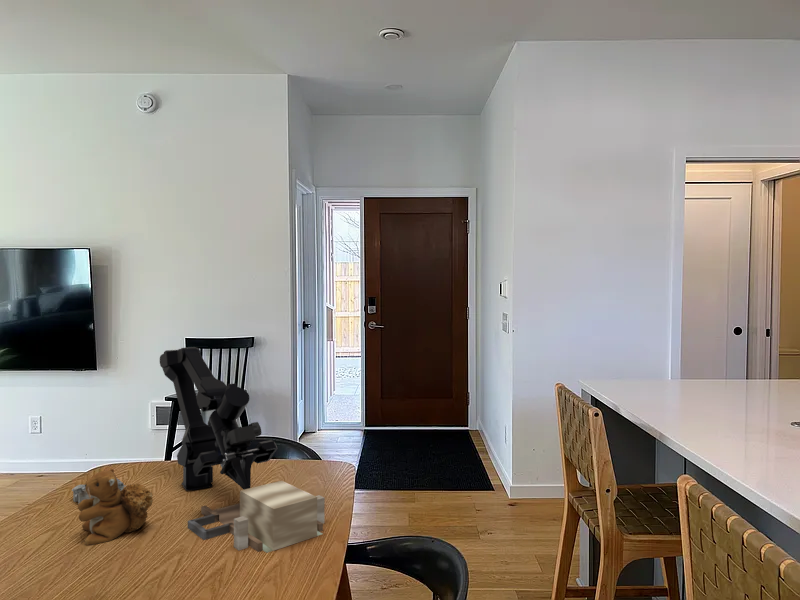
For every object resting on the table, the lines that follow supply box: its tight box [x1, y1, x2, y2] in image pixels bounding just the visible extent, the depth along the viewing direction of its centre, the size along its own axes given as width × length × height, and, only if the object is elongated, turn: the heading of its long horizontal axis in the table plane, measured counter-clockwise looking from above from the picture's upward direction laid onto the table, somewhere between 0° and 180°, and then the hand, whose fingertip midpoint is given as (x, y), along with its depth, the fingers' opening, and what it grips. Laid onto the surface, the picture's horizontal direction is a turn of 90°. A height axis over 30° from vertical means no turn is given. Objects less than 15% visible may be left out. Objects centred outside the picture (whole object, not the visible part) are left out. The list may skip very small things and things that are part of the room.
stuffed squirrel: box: [77, 467, 154, 546], centre depth 118 cm, size 10×14×13 cm
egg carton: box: [71, 478, 127, 505], centre depth 138 cm, size 11×8×4 cm
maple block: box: [239, 480, 318, 552], centre depth 117 cm, size 14×10×8 cm
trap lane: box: [187, 494, 326, 554], centre depth 122 cm, size 28×26×6 cm
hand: (248, 490), depth 127 cm, fingers closed
